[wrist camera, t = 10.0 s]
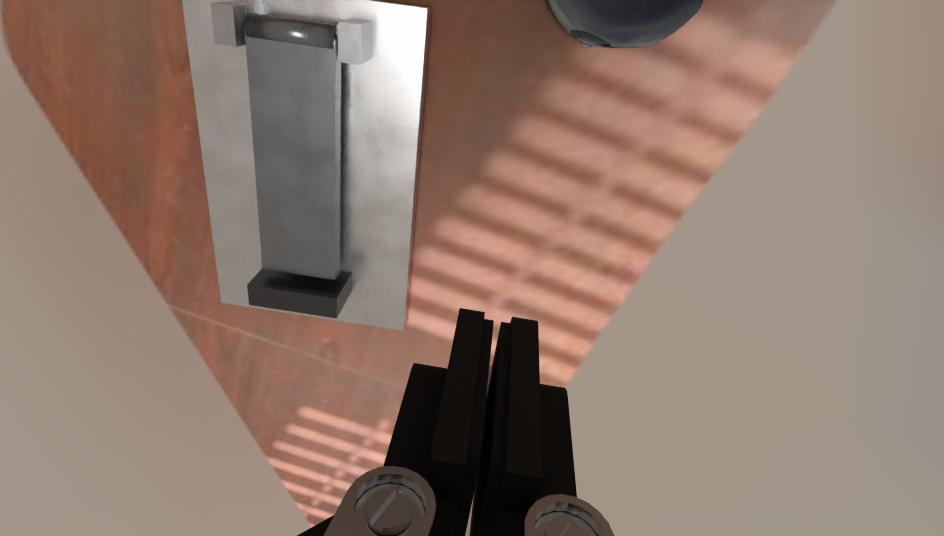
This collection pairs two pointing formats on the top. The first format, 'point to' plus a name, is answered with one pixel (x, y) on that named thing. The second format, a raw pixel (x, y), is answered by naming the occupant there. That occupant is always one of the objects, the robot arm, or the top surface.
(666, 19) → the electronic device
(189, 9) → the mounting plate
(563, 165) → the top surface
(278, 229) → the retention lever
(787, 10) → the top surface
